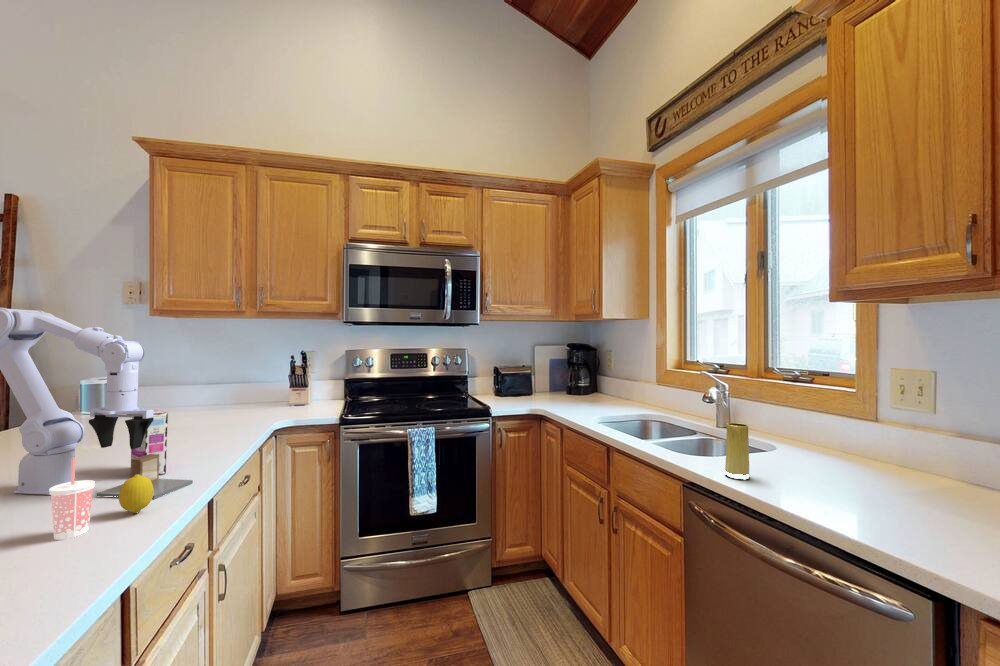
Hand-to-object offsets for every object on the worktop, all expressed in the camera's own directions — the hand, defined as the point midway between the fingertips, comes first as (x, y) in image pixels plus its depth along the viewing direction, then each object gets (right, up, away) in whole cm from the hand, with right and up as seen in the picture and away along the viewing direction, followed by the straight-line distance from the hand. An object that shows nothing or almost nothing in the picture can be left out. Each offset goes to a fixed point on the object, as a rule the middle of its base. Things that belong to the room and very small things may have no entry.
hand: (121, 447), depth 105 cm
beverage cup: (+12, -10, -24) cm, 29 cm away
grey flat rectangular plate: (+7, -10, -1) cm, 12 cm away
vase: (+155, -12, +14) cm, 157 cm away
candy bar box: (-4, -10, +13) cm, 17 cm away
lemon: (+16, -10, -14) cm, 24 cm away
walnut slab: (+6, -9, -1) cm, 11 cm away
